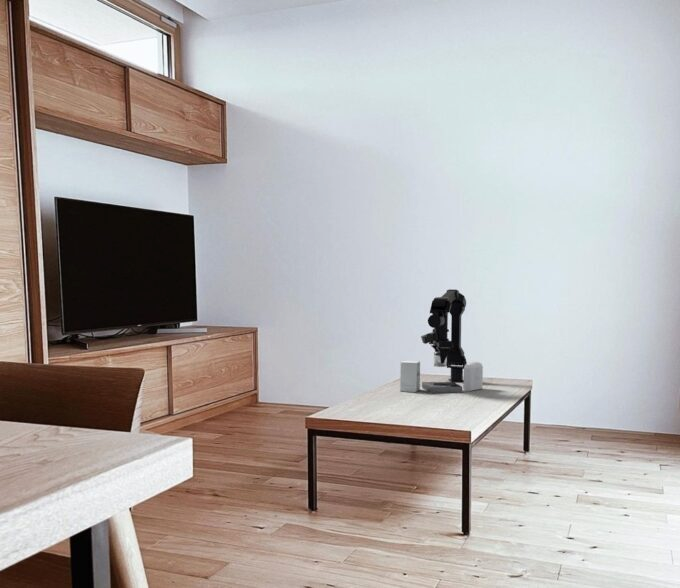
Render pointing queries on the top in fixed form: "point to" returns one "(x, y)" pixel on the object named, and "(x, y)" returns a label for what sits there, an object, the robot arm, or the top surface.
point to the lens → (437, 360)
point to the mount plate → (442, 387)
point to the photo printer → (473, 376)
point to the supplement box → (410, 376)
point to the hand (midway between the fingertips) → (440, 362)
